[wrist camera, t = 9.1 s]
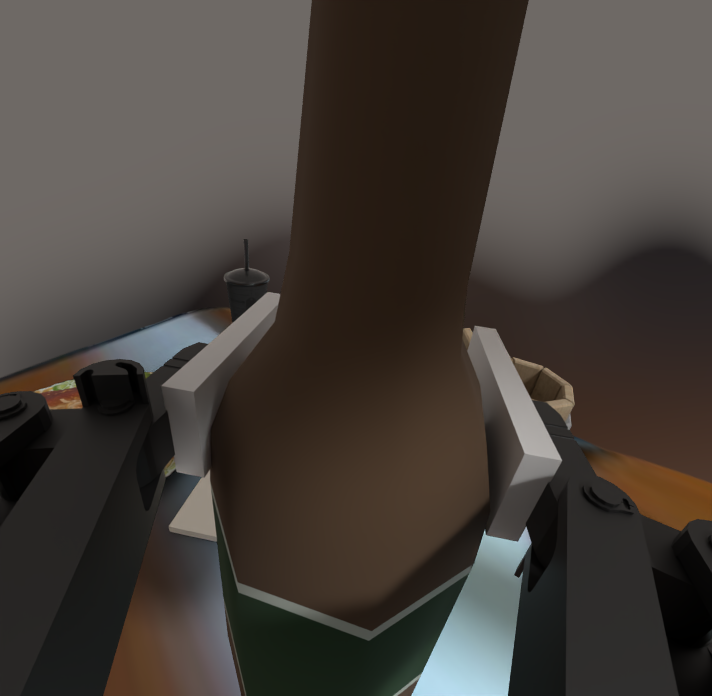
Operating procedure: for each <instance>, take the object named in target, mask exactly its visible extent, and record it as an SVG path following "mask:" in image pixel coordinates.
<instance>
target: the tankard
mask: <svg viewBox="0 0 712 696" xmlns="http://www.w3.org/2000/svg"><path fill="white" fill-rule="evenodd" d="M472 334H473V333H472V331H471V329H470V328H464V329H463V337H462V339H463V341H464V344H465V346H466V349H467V351H468V347H469V344H470V341H471V338H472ZM510 359H511V357H510ZM511 361H512V362H513V364H514V366H515V368H516V370H517V372H518V374H519V376H520V378H521V380H522V382H523V384H524V386H525V388H526V390H527V392H528V394H529V396H530V398H531V400H535V401H541V402H547V403H548V404H549V405H550V406H551V407H552V408H554V409H555V410H556V411H557V412H558V413H559V414H560V415H561V416H562V418H563V420H564V421H565V423H566V425H567V427H568V430H569V429H570V427H571V417H570V412H571V410H572V408H573V406H574V404H575V403H574V396H573V388H572V386H571V385H570V384H569V383H567V382H566V381H565V380H563V379H562V378H560V377H559V376H557V375H556V374H555V373H553V372H552V371H550V370H549V369H547V368H545V369H543V366H541V365H537V364H533V363H531V362H527V361H524V360H520V359H517V358H512V359H511Z"/></svg>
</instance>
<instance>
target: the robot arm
mask: <svg viewBox="0 0 712 696" xmlns="http://www.w3.org/2000/svg"><path fill="white" fill-rule="evenodd" d="M279 299H280V294H276V293H270V292H267V293H266V294H265V295H264V296H263V297H262V298H260V299H259V300H258V301H257V302H256V303H255V304H254V305H252V306H251V307H250V308H249V309H248V310H247V311H246V312H245V313H243V314H242V315H241V316H240V317H239V318H238V319H237V320H235V321H234V322H233V323H232V324H231V325H230V326H229V327H227V328H226V329H225V330H224V331H223V332H222V333H221V334H220V335H218V336H217V337H216V338H215V339H214V340H213V341H212V342H210V343H209V344H205V343H200V342H198V343H196V344H193V345H191V346H189V347H186V348H184V349H182V350H181V351H180V352H178V353H177V354H176V355H175V356H174V357H173V358H172V359H170V360H169V361H167V362H166V363H165V364H164V366H161V367H160V368H159V369H157V370H156V371H155V372H154V373H152V374H151V375H150V376H149V377H147V378H145V373H144V368H143V367H142V366H141V365H140V363H137V362H134V361H132V360H123V359H116V360H106V361H102V362H98V363H94V364H91V365H89V366H87V367H85V368H83V369H81V370H79V371H78V372H77V373H76V374H75V375H73V377H74V381H75V384H76V387H77V390H78V393H79V396H80V399H81V403H82V406H83V407H82V408H77V409H49V406H48V404H47V401H46V398H45V397H44V396H43V395H42V394H40V393H36V392H32V391H19V392H10V393H5V394H1V395H0V696H103V694H104V690H105V687H106V684H107V680H108V677H109V673H110V670H111V666H112V663H113V660H114V656H115V653H116V649H117V646H118V642H119V639H120V635H121V632H122V629H123V625H124V622H125V618H126V615H127V611H128V608H129V604H130V601H131V598H132V594H133V591H134V587H135V584H136V580H137V577H138V574H139V570H140V567H141V563H142V560H143V556H144V553H145V549H146V546H147V543H148V539H149V536H150V532H151V529H152V525H153V522H154V519H155V515H156V512H157V508H158V505H159V501H160V498H161V494H162V491H163V488H164V484H165V472H164V468H165V466H166V465H167V464H168V463H169V461H170V460H171V459H172V458H173V457H174V460H175V465H176V471H177V472H179V473H184V474H189V475H194V476H199V477H203V478H205V476H206V475H207V473H208V472H209V470H210V469H211V432H210V431H211V427H212V424H213V421H214V419H215V416H216V414H217V411H218V408H219V406H220V403H221V401H222V398H223V395H224V393H225V390H226V388H227V385H228V382H229V380H230V379H231V377H232V376H233V375H234V373H235V372H236V371H237V370H238V368H239V367H240V366H241V364H242V363H243V362H244V361H245V359H246V358H247V357H248V355H249V354H250V353H251V352H252V350H253V349H254V348H255V346H256V345H257V344H258V343H259V341H260V340H261V339H262V337H263V336H264V335H265V333H266V332H267V331H268V330H269V328H270V327H271V326H272V324H273V323H274V322H275V318H276V313H277V308H278V303H279ZM467 352H468V354H469V357H470V359H471V362H472V365H473V367H474V370H475V372H476V375H477V378H478V380H479V383H480V387H481V397H482V406H483V415H484V425H485V434H486V443H487V458H488V476H489V494H490V515H489V518H488V521H487V524H486V527H485V532H486V535H488V536H493V537H498V538H503V539H507V540H512V541H517V542H518V540H519V538H520V537H521V535H522V533H523V531H524V529H525V527H526V526H527V530H528V533H529V536H530V539H531V542H532V543H531V545H530V547H529V548H528V550H527V552H526V554H525V555H524V557H523V559H522V560H521V562H520V564H519V566H518V567H517V569H516V572H515V574H514V575H515V576H517V577H518V578H519V577H520V575H521V573H522V572H523V577H522V585H521V593H520V601H519V609H518V617H517V626H516V634H515V642H514V650H513V658H512V666H511V675H510V683H509V691H508V696H712V521H707V520H700V519H697V520H694V521H691V522H689V523H688V524H687V525H686V527H685V528H684V529H683V530H682V531H678V530H676V529H674V528H671V527H669V526H667V525H664V524H662V523H659V522H657V521H655V520H652V519H650V518H647V517H645V516H643V515H641V514H640V513H639V511H638V509H637V506H636V504H635V503H634V502H633V501H632V500H631V499H630V497H629V496H628V495H627V494H626V493H625V492H623V491H622V490H621V489H619V488H618V487H617V486H615V485H614V484H612V483H610V482H609V481H607V480H605V479H603V478H601V477H598V476H597V475H596V474H595V472H594V470H593V469H592V467H591V465H590V464H589V462H588V460H587V459H586V457H585V455H584V454H583V452H582V450H581V448H580V447H579V445H578V443H577V442H576V441H575V440H574V437H573V435H572V433H571V432H570V430H568V427H567V425H566V423H565V421H564V420H563V418H562V416H561V415H560V414H559V413H558V412H557V411H556V410H555V409H554V408H552V407H551V406H550V405H549V404H548V403H547V402H541V401H535V400H531V398H530V396H529V394H528V392H527V390H526V388H525V386H524V384H523V382H522V380H521V378H520V376H519V374H518V372H517V370H516V368H515V366H514V364H513V362H512V361H511V359H510V357H509V355H508V353H507V351H506V349H505V347H504V345H503V343H502V341H501V339H500V337H499V335H498V333H497V331H496V330H495V329H490V328H485V327H478V326H475V328H474V331H473V334H472V338H471V341H470V344H469V347H468V351H467Z"/></svg>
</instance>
